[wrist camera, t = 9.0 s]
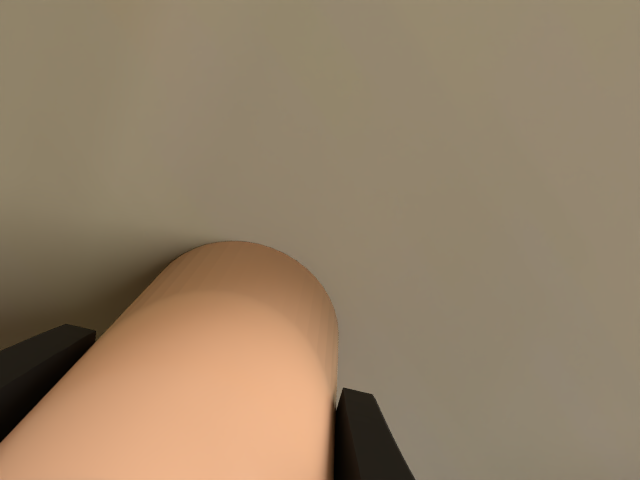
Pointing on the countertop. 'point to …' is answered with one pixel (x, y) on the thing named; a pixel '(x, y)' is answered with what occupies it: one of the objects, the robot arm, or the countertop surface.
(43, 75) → the countertop surface
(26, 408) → the robot arm
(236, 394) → the terracotta cylinder
